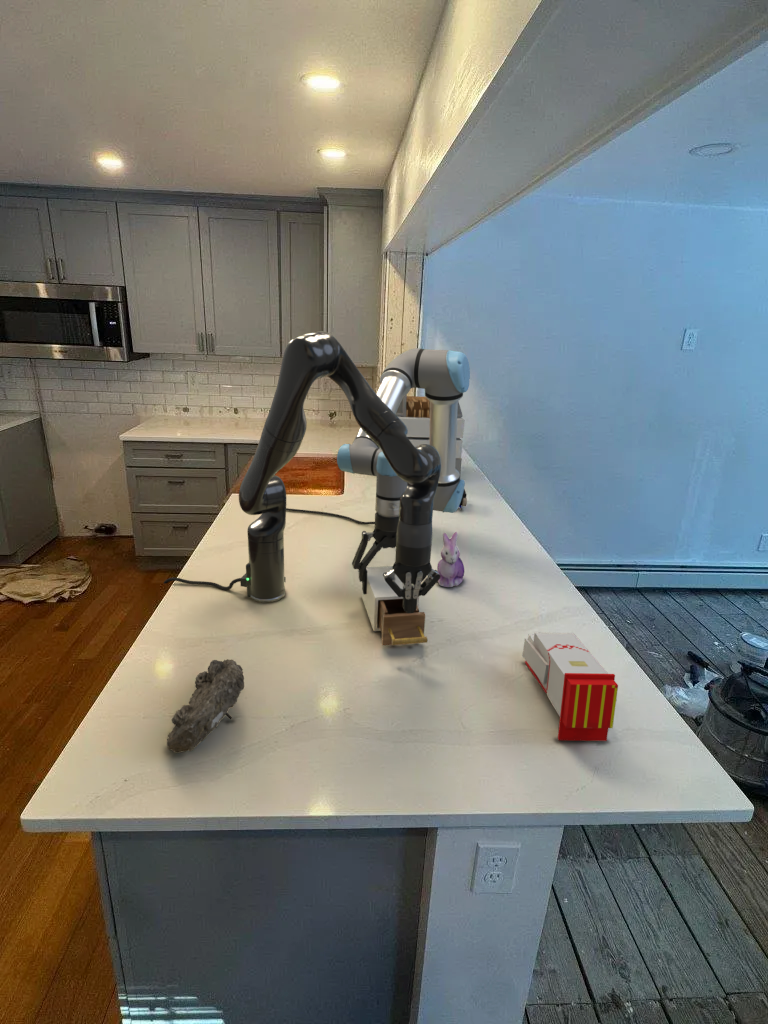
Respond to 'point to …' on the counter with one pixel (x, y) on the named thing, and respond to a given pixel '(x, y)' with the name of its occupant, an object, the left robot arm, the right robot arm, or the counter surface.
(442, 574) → the figurine
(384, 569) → the cabinet
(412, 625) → the drawer
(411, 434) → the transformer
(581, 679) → the toy
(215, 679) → the fossil
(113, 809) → the counter surface
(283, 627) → the counter surface
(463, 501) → the figurine character
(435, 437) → the right robot arm
